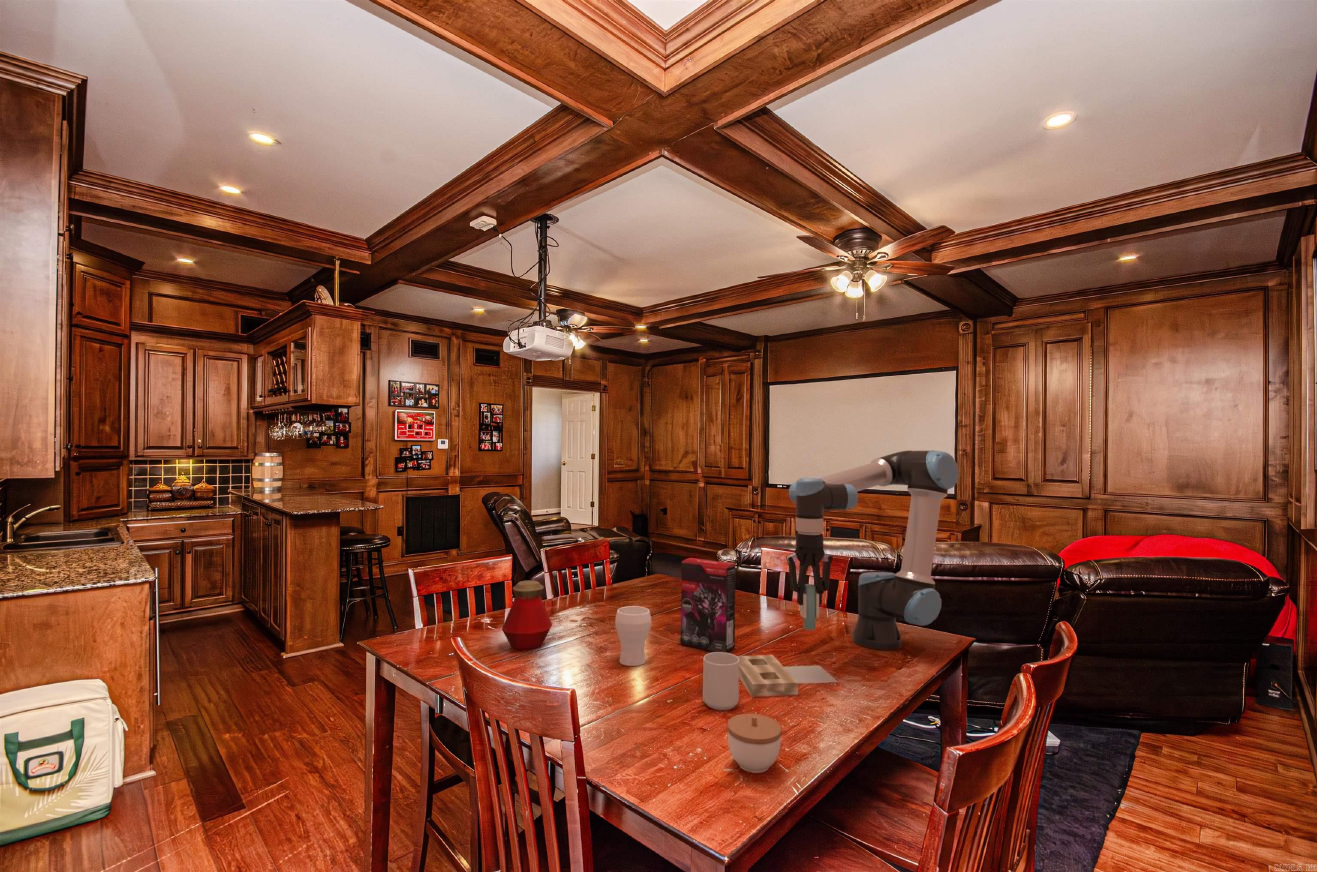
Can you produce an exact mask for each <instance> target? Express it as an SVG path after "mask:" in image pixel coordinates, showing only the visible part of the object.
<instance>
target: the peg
mask: <svg viewBox="0 0 1317 872" xmlns="http://www.w3.org/2000/svg"><path fill="white" fill-rule="evenodd" d="M815 592H816V590H815V584H810V583H805V588H804V593H805V594H807V618H803V629H805V630H807V631H815V630H816V628H817V627H816V624H817V623H816V622H817V621H816V618H817V617H816V615H815Z"/></svg>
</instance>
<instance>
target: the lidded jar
mask: <svg viewBox="0 0 1317 872" xmlns="http://www.w3.org/2000/svg"><path fill="white" fill-rule="evenodd" d="M726 725H727V726H726V727H727V728H726V729H727V740H728V741H727V742H728V748H729V751H730V755H731V756H732V758H733V759H734V760H735V762H736V764H738V766H739V767H740V768H741V770H744V771H745V772H748V773H753V774H762V773H765V772H767V771H768V770H769V769H770V767H771V766H773V765H774V764H775V762H776V761H777V759H778V757H779V753H780V750H781V743H782V726H781V724H780V723H779V722H778V721H776V720H775V719H773V718H772V717H769V716H768V715H767V716H766V715H763V714H757V713H742V714H736V715H735V716H731V718H729V719H728V721H727V724H726Z"/></svg>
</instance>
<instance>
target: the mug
mask: <svg viewBox="0 0 1317 872" xmlns="http://www.w3.org/2000/svg"><path fill="white" fill-rule="evenodd" d="M737 656H738V655H735V654H733V653H731V652H729V653H724V652H709V653H707V654H705V655H704V656H703V663H702V665H703V666H702V669H703V670H702V700H703V702H704V704H706V706H708V707H709V708H711V709H713V710H718V711H727V710H728V711H729V710H731V709H733V708H735V707H736V706H737V705H738V703H739V700H740V679H739V658H738V657H737Z"/></svg>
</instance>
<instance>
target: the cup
mask: <svg viewBox="0 0 1317 872" xmlns="http://www.w3.org/2000/svg"><path fill="white" fill-rule="evenodd" d="M614 620H615V622H614V623H615V631H616V634H617V636H618V639H619V641H620V647H621V649H620V656H619V663H620V664H621V665H622V666H628V667H637V666H642V665H644V664H645V663H646V662H647V661H646V652H645V646H646V640H647V639H648V636H649V634H650V631H651V628H652V616H651V611H650V609H649V608H647V607H644V606H638V605H637V606H636V605H632V606H631V605H629V606H624V607H619V608H618V609H617V611H616V615H615V619H614Z"/></svg>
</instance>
